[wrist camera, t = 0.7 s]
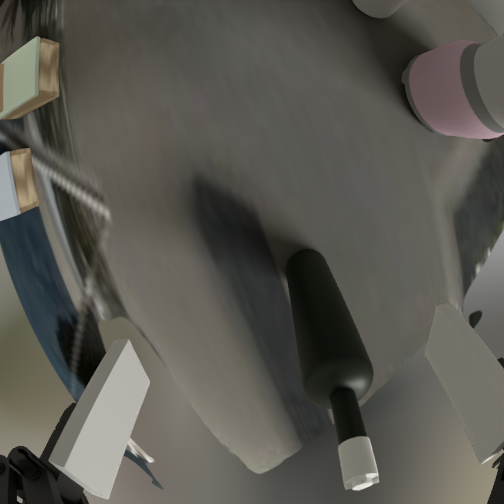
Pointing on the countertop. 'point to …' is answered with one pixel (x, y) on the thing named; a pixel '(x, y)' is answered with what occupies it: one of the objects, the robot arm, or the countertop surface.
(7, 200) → the lid far
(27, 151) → the box far
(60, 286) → the countertop surface
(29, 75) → the lid near
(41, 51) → the box near
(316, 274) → the wine bottle
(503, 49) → the blender
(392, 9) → the beverage can
